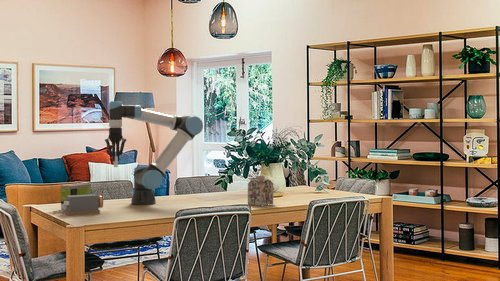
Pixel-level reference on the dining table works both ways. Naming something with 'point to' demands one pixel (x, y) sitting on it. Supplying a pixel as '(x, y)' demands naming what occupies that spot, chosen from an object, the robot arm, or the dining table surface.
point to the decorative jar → (260, 191)
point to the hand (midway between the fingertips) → (115, 167)
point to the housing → (82, 205)
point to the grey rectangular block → (66, 203)
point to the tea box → (74, 191)
